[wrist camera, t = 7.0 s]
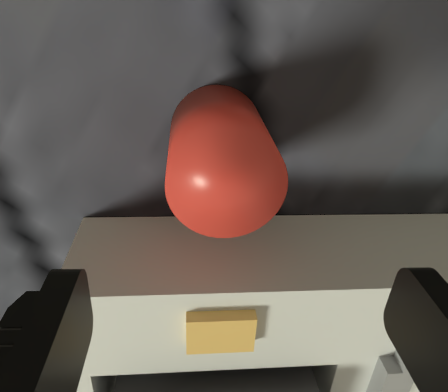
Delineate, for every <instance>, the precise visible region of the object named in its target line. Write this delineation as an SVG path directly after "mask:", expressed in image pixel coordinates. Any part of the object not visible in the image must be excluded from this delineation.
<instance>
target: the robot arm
mask: <svg viewBox="0 0 448 392" xmlns="http://www.w3.org/2000/svg"><path fill="white" fill-rule="evenodd" d="M383 320H384V326H385V330H386V332H387V334H388V336H389V338H390V340H391V342H392V344H393V345H394V347H395V349H396V351H397V353H398V354H399V356H400V358H401V360H402V361H403V363H404V365H405V367H406V369H407V370H408V372H409V374H410V376H411V378H412V379H413V381H414V383H415V385H416V387H417V388H418V390H419V392H448V283H447V282H446V281H445V280H444V279H443V277H442V276H441V275H440V274H439V273H438V272H437V271H436V270H435V269H434V268H430V267H418V268H401V269H400V270H399V271H398V272H397V274H396V277H395V280H394V283H393V286H392V289H391V292H390V294H389V297H388V300H387V303H386V306H385V309H384V314H383ZM92 331H93V311H92V304H91V298H90V291H89V285H88V278H87V273H86V271H85V269H52V270H51V271H50V272H49V273H48V275H47V277H46V279H45V281H44V284H43V286H42V288H41V290H40V291H26V292H25V293H24V294H23V295H22V296H21V297H20V298H18V299H17V300H16V301H15V302H14V303H13V304H12V305H11V306H9V307H8V309H7V310H6V312H5V314H4V316H3V317H2V319H1V321H0V392H77V388H78V385H79V381H80V377H81V374H82V370H83V367H84V363H85V360H86V356H87V352H88V349H89V345H90V342H91V337H92Z"/></svg>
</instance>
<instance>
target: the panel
mask: <svg viewBox="0 0 448 392" xmlns="http://www.w3.org/2000/svg"><path fill="white" fill-rule="evenodd" d="M418 267H430V268H434V269H435V270H436V271H437V272H438V273H439V274H440V275H441V276H442V277H443V279H444V280H445V281H446V282H447V283H448V214H376V215H279V216H274V217H273V218H272V219H271V220H270V221H269V222H267V223H266V224H265V225H264V226H262V227H261V228H259V229H257V230H255V231H253V232H251V233H249V234H246V235H243V236H239V237H233V238H214V237H208V236H205V235H201V234H199V233H196V232H194V231H193V230H191V229H189V228H188V227H186V226H185V225H183V224H182V223H181V222H180V221H179V220H178V219H177V218H176V217H85V218H83V220H82V222H81V224H80V227H79V229H78V231H77V234H76V236H75V238H74V241H73V243H72V245H71V248H70V250H69V252H68V254H67V257H66V259H65V261H64V264H63V266H62V268H61V269H85V271H86V273H87V278H88V285H89V291H90V298H91V304H92V311H93V331H92V337H91V342H90V345H89V349H88V352H87V356H86V360H85V363H84V367H83V370H82V374H81V377H80V381H79V385H78V388H77V392H114V387H115V381H116V376H117V375H130V374H151V373H172V372H192V371H213V370H234V369H255V368H276V367H297V366H311V367H312V370H313V373H314V376H315V379H316V382H317V385H318V389H319V392H419V390H418V388H417V387H416V385H415V383H414V381H413V379H412V378H411V376H410V374H409V372H408V370H407V369H406V367H405V365H404V363H403V361H402V360H401V358H400V356H399V354H398V353H397V351H396V349H395V347H394V345H393V344H392V342H391V340H390V338H389V336H388V334H387V332H386V330H385V326H384V320H383V314H384V309H385V306H386V303H387V300H388V297H389V294H390V292H391V289H392V286H393V283H394V280H395V277H396V274H397V272H398V271H399V270H400V269H401V268H418Z"/></svg>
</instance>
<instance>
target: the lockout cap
mask: <svg viewBox="0 0 448 392" xmlns="http://www.w3.org/2000/svg"><path fill="white" fill-rule="evenodd" d="M287 189H288V173H287V169H286V165H285V163H284V160H283V158H282V156H281V155H280V153H279V151H278V149H277V147H276V145H275V143H274V141H273V139H272V138H271V136H270V134H269V132H268V130H267V128H266V126H265V124H264V122H263V121H262V119H261V117H260V115H259V113H258V111H257V109H256V107H255V106H254V104H253V103H252V101H251V100H250V99H249V98H248V97H247V96H246V95H245V94H243V93H242V92H241V91H239V90H237V89H235V88H232V87H230V86H225V85H208V86H204V87H201V88H198V89H196V90H194V91H192V92H191V93H189V94H188V95H187V96H186V97H184V98H183V99H182V101H181V102H180V103H179V104H178V106H177V108H176V110H175V112H174V114H173V117H172V122H171V130H170V140H169V149H168V158H167V168H166V177H165V194H166V198H167V202H168V204H169V207H170V209H171V211H172V212H173V214H174V215H175V216H176V218H177V219H178V220H179V221H180V222H181V223H182V224H183V225H185V226H186V227H188V228H189V229H191V230H193V231H194V232H196V233H199V234H201V235H205V236H208V237H214V238H233V237H239V236H243V235H246V234H249V233H251V232H253V231H255V230H257V229H259V228H261V227H262V226H264V225H265V224H266V223H267V222H269V221H270V220H271V219H272V218H273V217H274V216H275V215H276V213H277V212H278V210H279V209H280V208H281V206H282V204H283V202H284V199H285V197H286V193H287Z"/></svg>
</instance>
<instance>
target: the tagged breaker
mask: <svg viewBox="0 0 448 392" xmlns="http://www.w3.org/2000/svg"><path fill="white" fill-rule="evenodd" d="M114 392H319V389H318V385H317V382H316V379H315V376H314V373H313V370H312V367H311V366H297V367H276V368H255V369H234V370H213V371H192V372H172V373H151V374H130V375H117V376H116V381H115V387H114Z"/></svg>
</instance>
